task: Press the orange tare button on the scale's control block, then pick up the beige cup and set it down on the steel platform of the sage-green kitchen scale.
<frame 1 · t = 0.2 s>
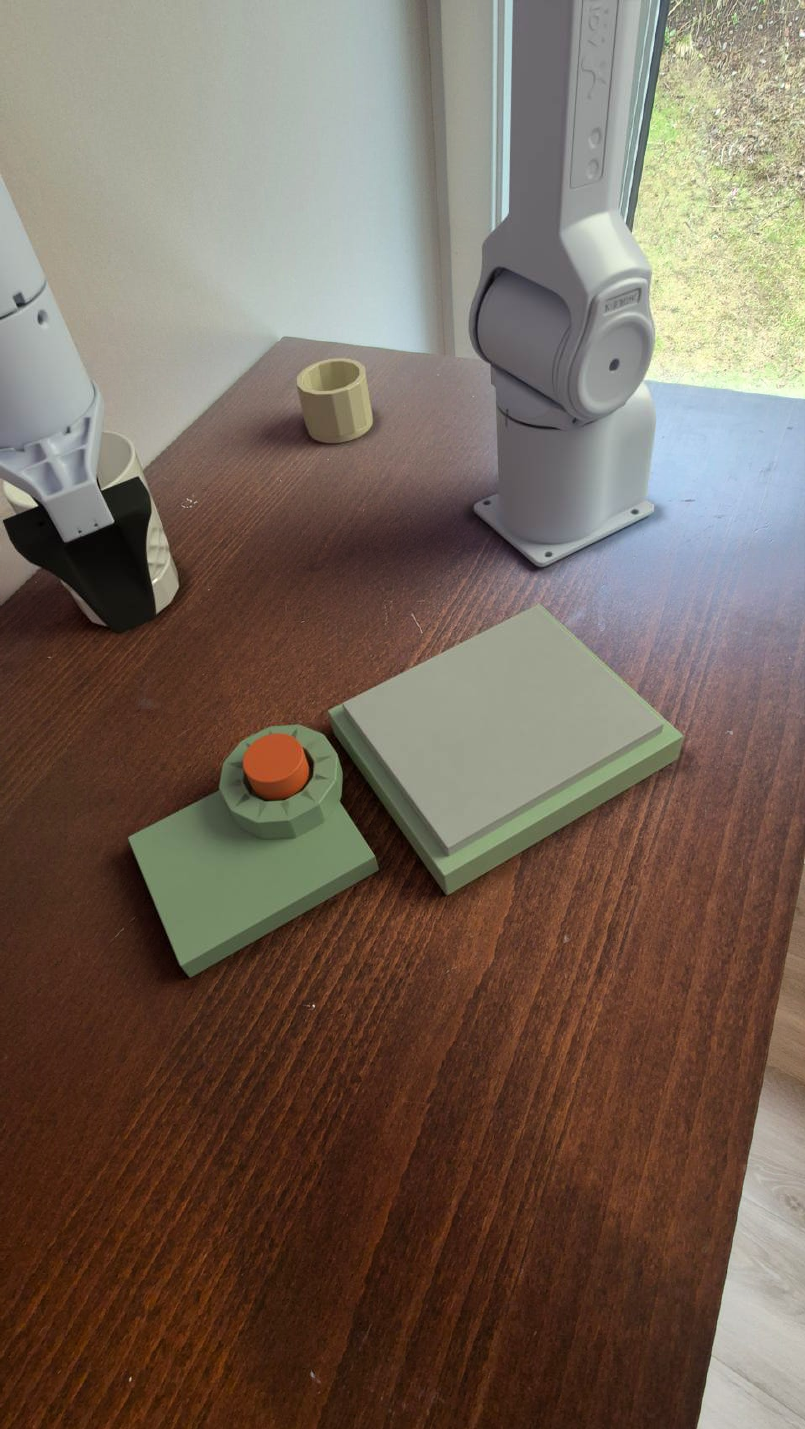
hand: (112, 578, 41), 10 cm above the table, tool pointing down, fingers open, 7 cm apart
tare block: (254, 860, 41), on the table
scale: (498, 745, 44), on the table
white cup: (132, 596, 56), on the table
tare button: (276, 766, 40), point 3 cm above the table, slide at 0.1 cm
beige cup: (340, 424, 66), on the table
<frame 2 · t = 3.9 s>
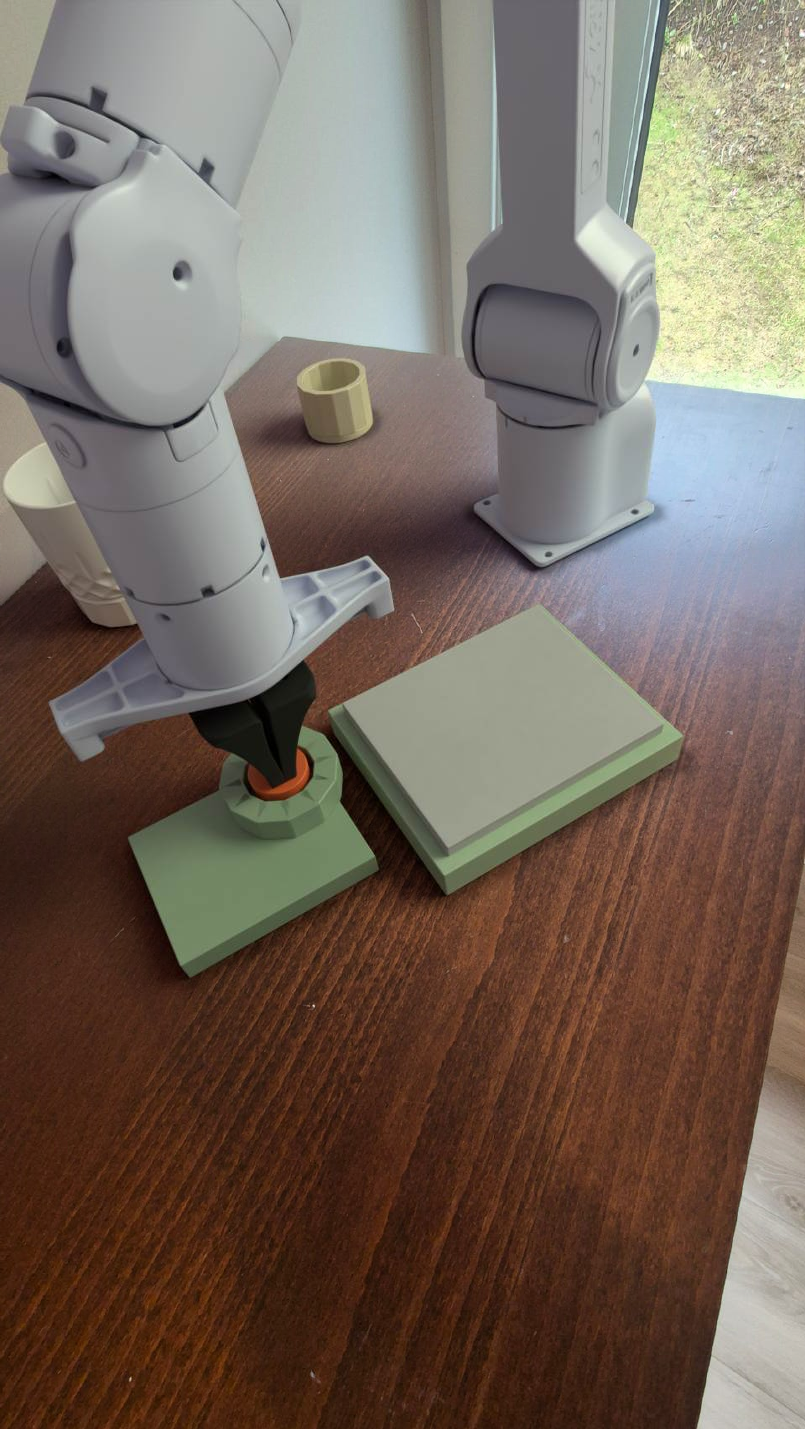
hand: (277, 769, 40), 3 cm above the table, tool pointing down, fingers closed, pressing on tare button
tare button: (280, 777, 41), point 2 cm above the table, slide at -0.8 cm, touching gripper
everything else where it was.
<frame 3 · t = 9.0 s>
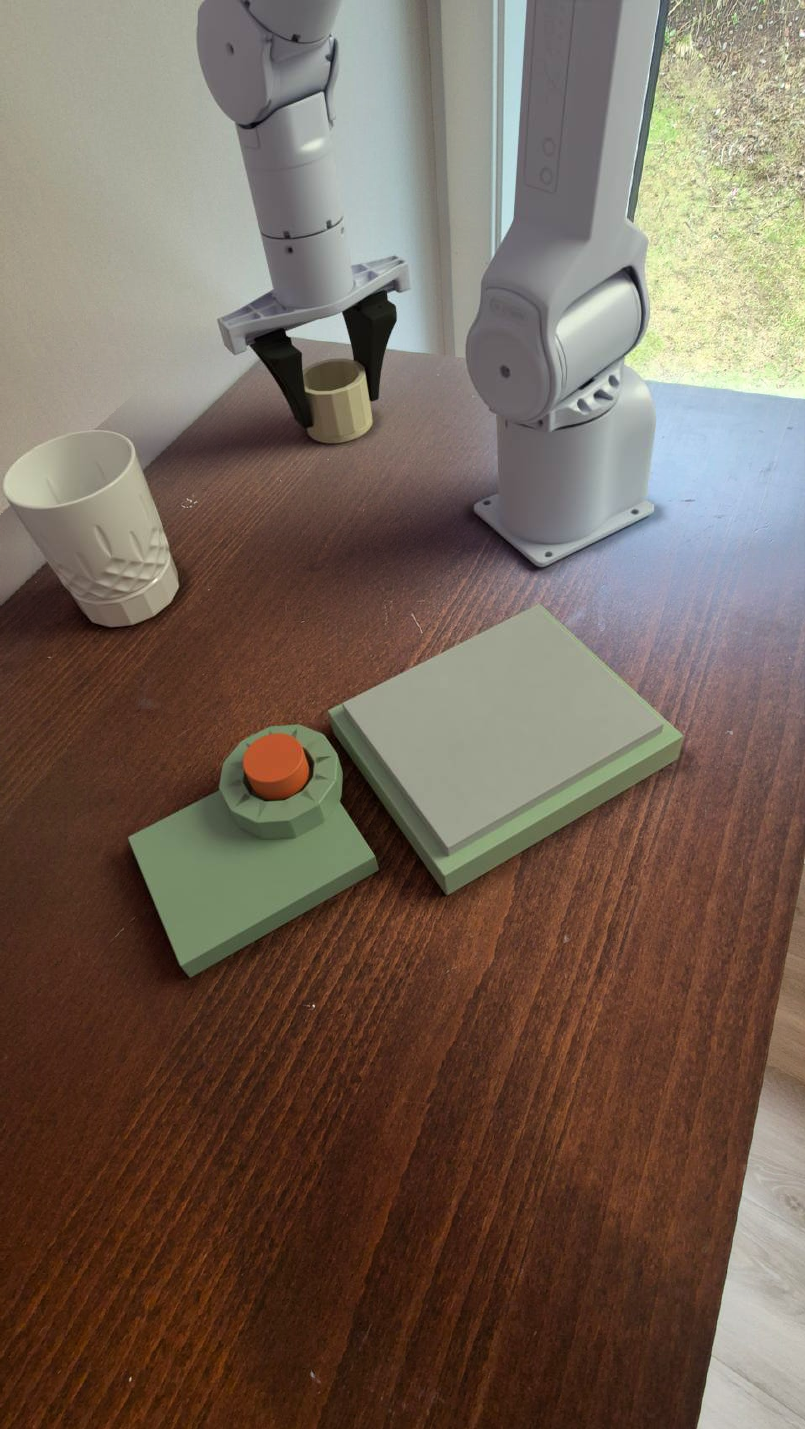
hand: (337, 408, 65), 1 cm above the table, tool pointing down, fingers closed on beige cup, 5 cm apart
tare button: (276, 766, 40), point 3 cm above the table, slide at 0.1 cm
beige cup: (340, 425, 66), on the table, touching gripper
everything else where it was.
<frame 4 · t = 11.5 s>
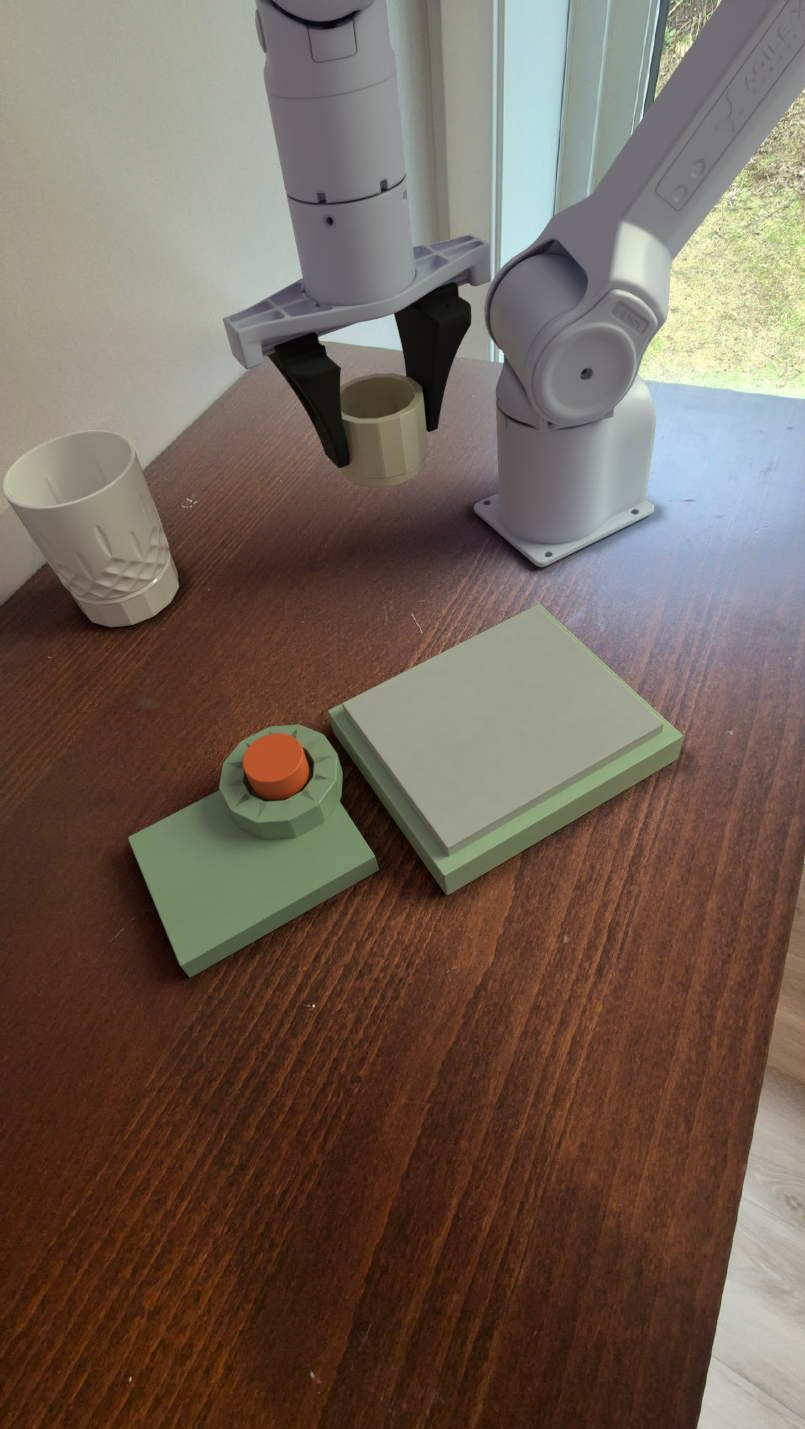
hand: (382, 441, 49), 8 cm above the table, tool pointing down, fingers closed on beige cup, 5 cm apart
beige cup: (384, 461, 50), point 7 cm above the table, touching gripper
everything else where it was.
when the fingers open (4 cm above the table, at t = 14.4 s): beige cup stays where it is, resting on scale.
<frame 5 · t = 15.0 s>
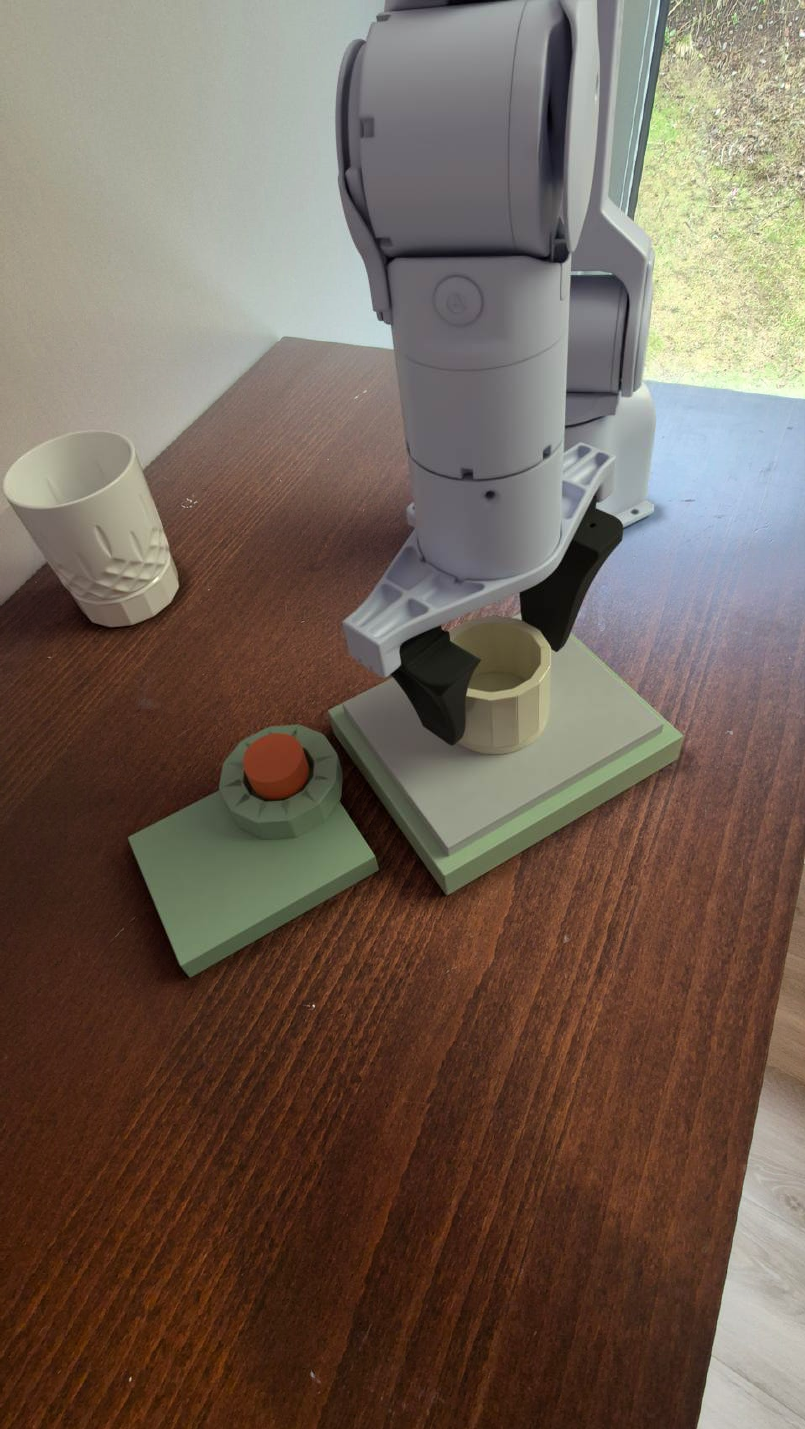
hand: (495, 684, 40), 5 cm above the table, tool pointing down, fingers open, 7 cm apart
beige cup: (495, 712, 42), point 3 cm above the table, touching scale
everything else where it was.
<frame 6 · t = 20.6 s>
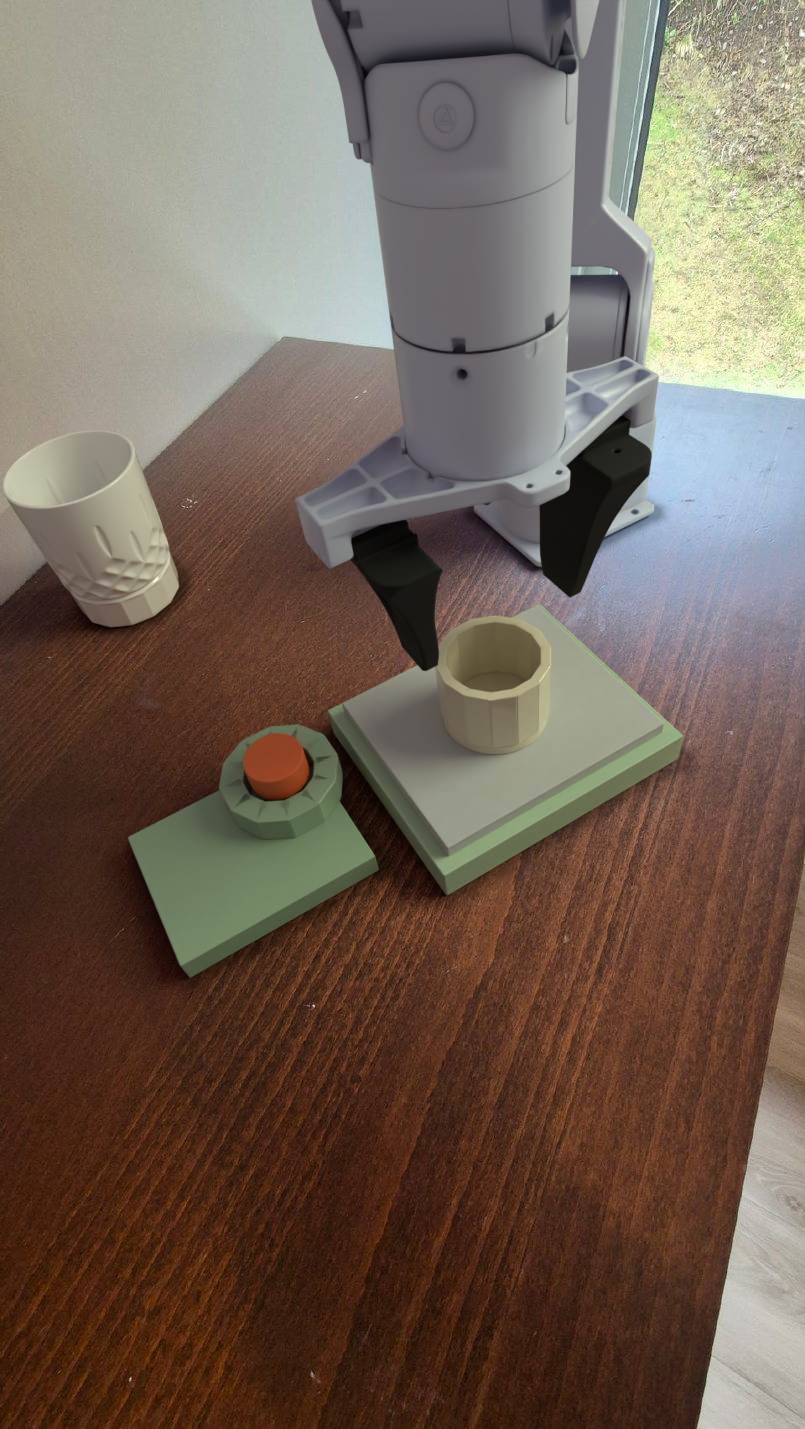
hand: (492, 618, 36), 9 cm above the table, tool pointing down, fingers open, 7 cm apart
nothing on the table moved.
at the end: tare button pushed in 1.0 cm at the most during the clip, back to where it started at the end; beige cup inside the target area on the scale (0.1 cm from its centre), point 2.8 cm above the scale's base; beige cup tilted 0° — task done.
